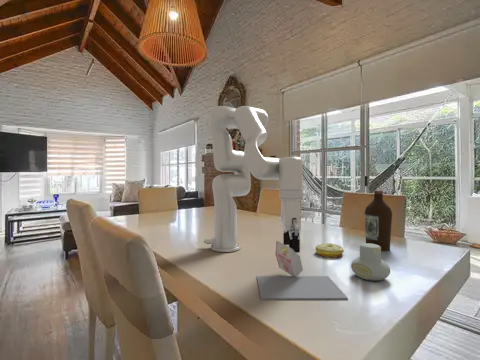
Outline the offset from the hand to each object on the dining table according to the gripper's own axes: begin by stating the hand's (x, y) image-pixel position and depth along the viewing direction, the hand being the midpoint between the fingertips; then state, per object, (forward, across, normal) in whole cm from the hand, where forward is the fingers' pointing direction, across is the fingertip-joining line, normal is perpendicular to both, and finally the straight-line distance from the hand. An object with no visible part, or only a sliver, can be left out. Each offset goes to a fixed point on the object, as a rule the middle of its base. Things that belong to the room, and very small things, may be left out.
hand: (291, 248), depth 88 cm
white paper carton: (+6, +2, 0) cm, 6 cm away
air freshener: (+8, +4, +24) cm, 25 cm away
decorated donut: (+8, -21, +20) cm, 30 cm away
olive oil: (+8, -30, +44) cm, 53 cm away
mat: (+8, +12, 0) cm, 14 cm away
